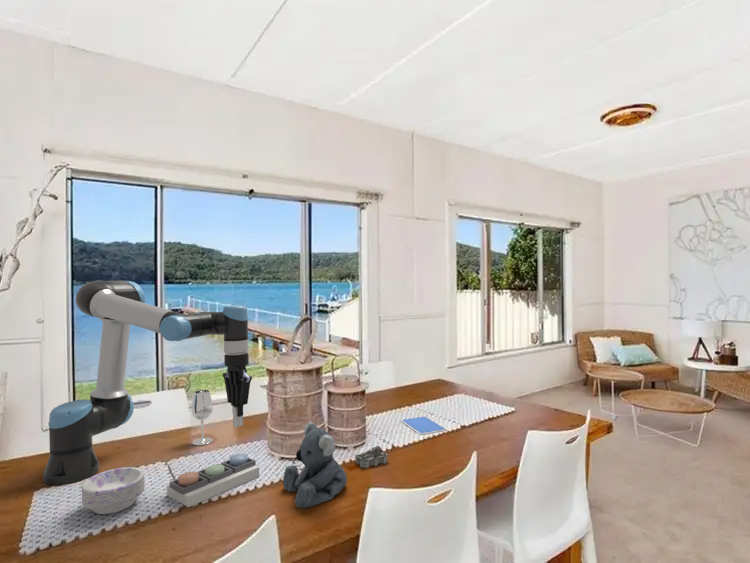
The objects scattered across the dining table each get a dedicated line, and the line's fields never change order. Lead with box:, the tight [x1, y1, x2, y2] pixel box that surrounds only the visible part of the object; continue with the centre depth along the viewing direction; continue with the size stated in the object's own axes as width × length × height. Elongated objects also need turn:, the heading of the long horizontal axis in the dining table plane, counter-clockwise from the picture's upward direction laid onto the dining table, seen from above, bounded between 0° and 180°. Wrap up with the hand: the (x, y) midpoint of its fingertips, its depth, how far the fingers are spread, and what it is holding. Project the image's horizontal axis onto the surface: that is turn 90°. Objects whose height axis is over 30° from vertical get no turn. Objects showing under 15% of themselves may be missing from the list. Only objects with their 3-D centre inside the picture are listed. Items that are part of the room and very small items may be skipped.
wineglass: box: [190, 389, 214, 446], centre depth 173 cm, size 8×8×20 cm
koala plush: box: [282, 421, 348, 509], centre depth 130 cm, size 17×18×20 cm
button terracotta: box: [177, 471, 199, 486], centre depth 128 cm, size 6×6×2 cm
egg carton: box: [354, 445, 389, 469], centre depth 150 cm, size 11×8×4 cm
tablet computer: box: [400, 416, 447, 436], centre depth 187 cm, size 19×13×1 cm, turn 22°
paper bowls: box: [81, 466, 146, 515], centre depth 124 cm, size 15×15×8 cm
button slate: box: [228, 453, 249, 466], centre depth 142 cm, size 6×6×2 cm
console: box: [166, 456, 260, 508], centre depth 135 cm, size 25×12×4 cm, turn 142°
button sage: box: [204, 464, 224, 477], centre depth 135 cm, size 6×6×2 cm
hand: (238, 425), depth 142 cm, fingers closed
